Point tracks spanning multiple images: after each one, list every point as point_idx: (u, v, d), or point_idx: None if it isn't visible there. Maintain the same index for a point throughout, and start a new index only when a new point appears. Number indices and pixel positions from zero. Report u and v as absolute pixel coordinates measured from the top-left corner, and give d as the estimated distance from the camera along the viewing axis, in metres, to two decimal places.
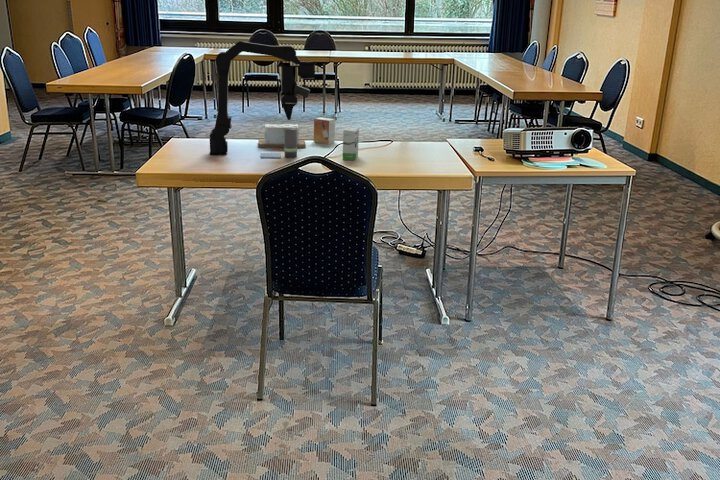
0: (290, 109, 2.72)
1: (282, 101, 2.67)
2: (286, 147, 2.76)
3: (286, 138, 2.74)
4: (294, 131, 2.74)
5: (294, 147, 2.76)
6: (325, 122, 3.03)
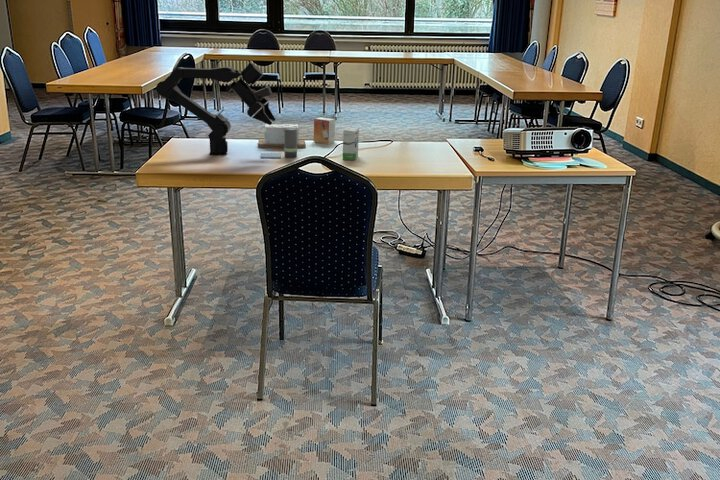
0: (263, 115, 2.68)
1: (250, 115, 2.65)
2: (286, 147, 2.76)
3: (286, 138, 2.74)
4: (294, 131, 2.74)
5: (294, 147, 2.76)
6: (325, 122, 3.03)
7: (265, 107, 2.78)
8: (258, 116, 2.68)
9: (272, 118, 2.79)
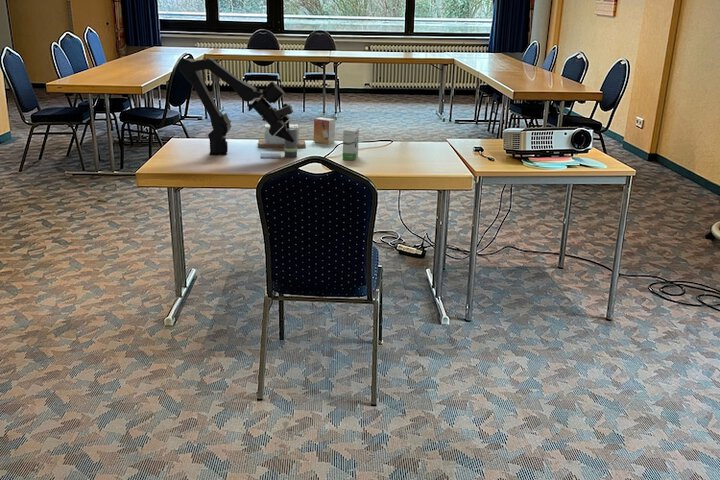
0: (286, 133, 2.72)
1: (271, 134, 2.67)
2: (286, 147, 2.76)
3: None
4: (294, 131, 2.74)
5: (294, 147, 2.76)
6: (325, 122, 3.03)
7: (285, 126, 2.78)
8: (280, 134, 2.72)
9: None
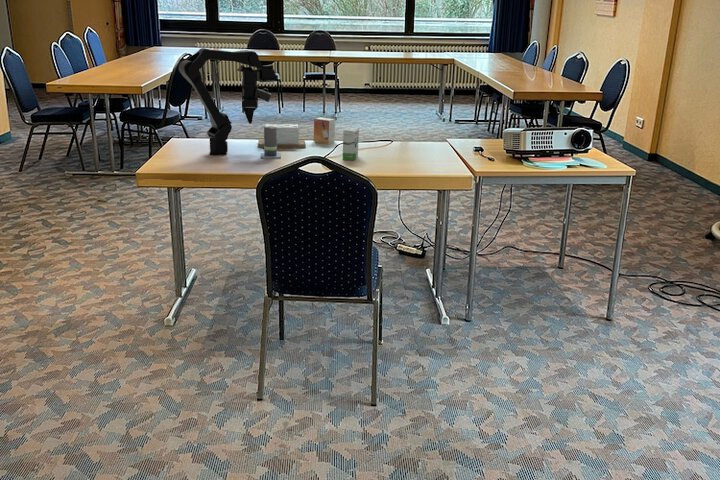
0: (251, 113, 2.76)
1: (242, 105, 2.72)
2: (265, 145, 2.74)
3: (265, 136, 2.73)
4: (273, 129, 2.72)
5: (273, 145, 2.74)
6: (325, 122, 3.03)
7: None
8: (247, 110, 2.75)
9: None
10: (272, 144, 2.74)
